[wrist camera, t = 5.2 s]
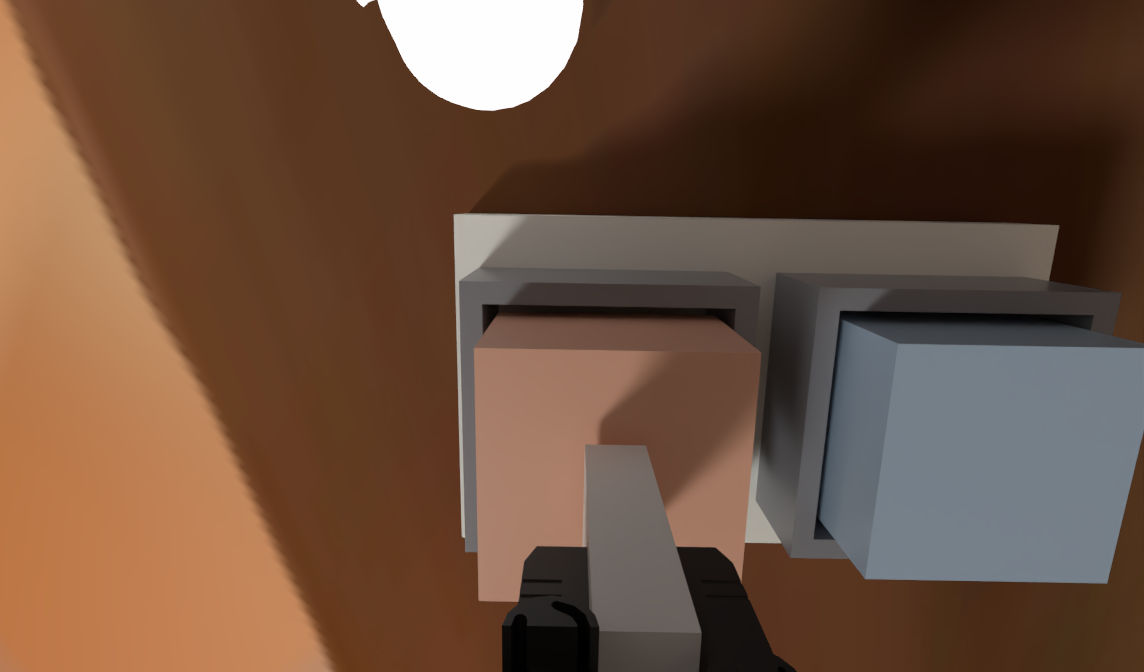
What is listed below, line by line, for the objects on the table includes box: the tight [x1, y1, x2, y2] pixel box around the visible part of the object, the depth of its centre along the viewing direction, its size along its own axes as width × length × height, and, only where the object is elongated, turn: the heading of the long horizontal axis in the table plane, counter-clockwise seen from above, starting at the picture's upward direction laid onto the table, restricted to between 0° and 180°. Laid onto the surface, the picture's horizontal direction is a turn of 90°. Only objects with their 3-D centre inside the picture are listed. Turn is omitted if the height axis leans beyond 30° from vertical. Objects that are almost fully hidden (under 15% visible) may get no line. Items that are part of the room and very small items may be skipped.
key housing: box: [454, 213, 1122, 559], centre depth 23 cm, size 13×22×7 cm, turn 89°
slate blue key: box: [816, 311, 1144, 583], centre depth 19 cm, size 7×7×5 cm
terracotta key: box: [474, 311, 762, 602], centre depth 18 cm, size 7×7×5 cm
